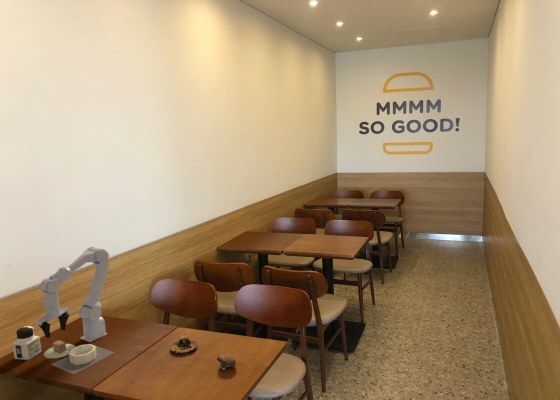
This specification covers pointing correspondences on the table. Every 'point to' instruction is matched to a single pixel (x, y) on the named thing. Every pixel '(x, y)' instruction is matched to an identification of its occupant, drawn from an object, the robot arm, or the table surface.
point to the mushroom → (226, 360)
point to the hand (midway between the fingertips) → (55, 333)
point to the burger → (184, 344)
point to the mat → (73, 368)
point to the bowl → (82, 354)
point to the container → (26, 344)
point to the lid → (59, 350)
